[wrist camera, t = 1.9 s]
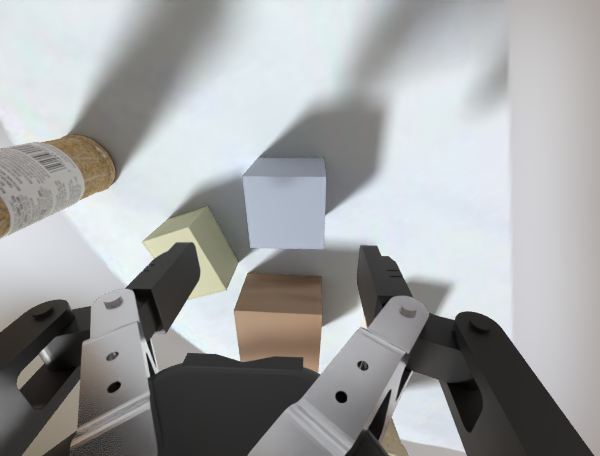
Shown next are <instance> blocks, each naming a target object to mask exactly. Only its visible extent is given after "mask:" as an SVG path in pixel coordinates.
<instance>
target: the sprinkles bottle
mask: <svg viewBox="0 0 600 456" xmlns="http://www.w3.org/2000/svg"><path fill="white" fill-rule="evenodd" d="M115 173H116V172H115V167H114V165H113V161H112V159H111V158H110V156H109V154H108V153H107V151H106V150H105V149H104V148H103V147H102V146H100V145H99V144H98V143H96V142H95V141H94V140H92V139H90V138H87V137H85V136H82V135H67V136H64V137H62V138H60V139H57V140H52V141H46V142H41V143H39V142H34V143H28V144H23V145H17V146H12V147H7V148H1V149H0V239H1V238H4V237H6V236H7V235H10V234H12V233H14V232H16V231H18V230H20V229H22V228H25V227H27V226H29V225H31V224H33V223H35V222H37V221H39V220H42V219H44V218H46V217H48V216H50V215H52V214H54V213H56V212H58V211H60V210H63V209H65V208H67V207H69V206H71V205H73V204H75V203H77V202H78V201H79V200H81V199H83V198H86V197H88V196H89V195H92V194H94V193H96V192H101V191H104V190H106V189H108V188H109V187H110V186H111V185H112V183H113V181H114V179H115Z"/></svg>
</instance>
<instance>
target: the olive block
mask: <svg viewBox="0 0 600 456" xmlns="http://www.w3.org/2000/svg"><path fill="white" fill-rule="evenodd" d="M176 242H193V243H194V244H195V247H196V251H197V256H198V260H199V265H200V279H199V281H198V283H197V285H196V286H195V288H194V290H193V291H192V293H191V294H190V296H189V298H188V299H187V300H190V299H194V298H198V297H202V296H206V295H210V294H213V293H217V292H221V291H225V290H227V288H228V285H229V283H230V281H231V279H232V276H233V274H234V272H235V269H236V267H237V265H238V263H239V262H238V260H237V259H236V257H235V255H234V253H233V251H232V249H231V248H230V246H229V244H228V242H227V240H226V238H225V237H224V235H223V233H222V231H221V229H220V227H219V225H218V224H217V222H216V220H215V218H214V216H213V214H212V213H211V211H210V209H209V207H208V206H206V207H203V208H200V209H197V210H194V211H191V212H188V213H185V214H182V215H179V216H176V217H173V218H170V219H167V220H166V221H165V222H164V223H163V224H162V225H160V226H159V227H158V228H157V229H156V230H155V231H154V232H153V233H151V234H150V235H149V236H148V237H147V238H146V239H145V240H143V241H142V243H143V244H144V246H145V247H146V249H147V250H148V251H149V253H150V254H151V256H152V257H153V259H155V258H156V257H157V256H159V255H161V254H162V253H164V252H167V251H168V250H169V249H170V248H171V247H172V246H173V245H174V244H175V243H176Z"/></svg>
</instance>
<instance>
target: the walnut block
mask: <svg viewBox="0 0 600 456" xmlns="http://www.w3.org/2000/svg"><path fill="white" fill-rule="evenodd" d="M234 316H235V323H236V331H237V338H238V346H239V354H240V361H241V362H247V361H253V360H258V359H263V358H268V357H273V356H281V357H303V364H304V367H305V368H308V369H311V370H313V371H315V372H318V368H319V355H320V341H321V328H322V286H321V277H320V276H297V275H275V274H253V273H247V276H246V279H245V282H244V284H243V287H242V290H241V293H240V295H239V298H238V301H237V303H236V306H235V309H234Z"/></svg>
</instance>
